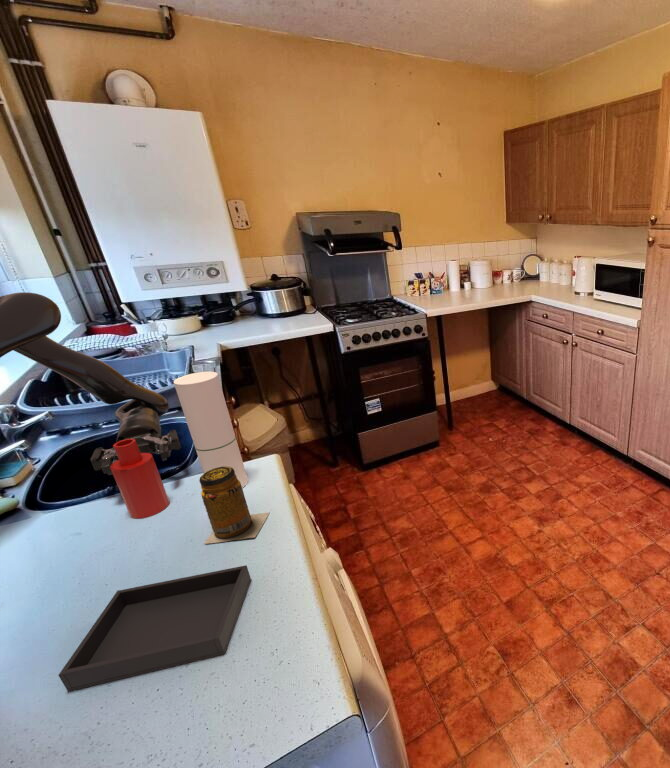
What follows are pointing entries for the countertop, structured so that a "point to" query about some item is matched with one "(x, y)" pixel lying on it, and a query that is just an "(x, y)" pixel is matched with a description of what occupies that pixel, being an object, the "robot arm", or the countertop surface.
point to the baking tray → (159, 627)
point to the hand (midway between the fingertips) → (136, 463)
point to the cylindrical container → (210, 422)
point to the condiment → (228, 507)
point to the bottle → (138, 480)
